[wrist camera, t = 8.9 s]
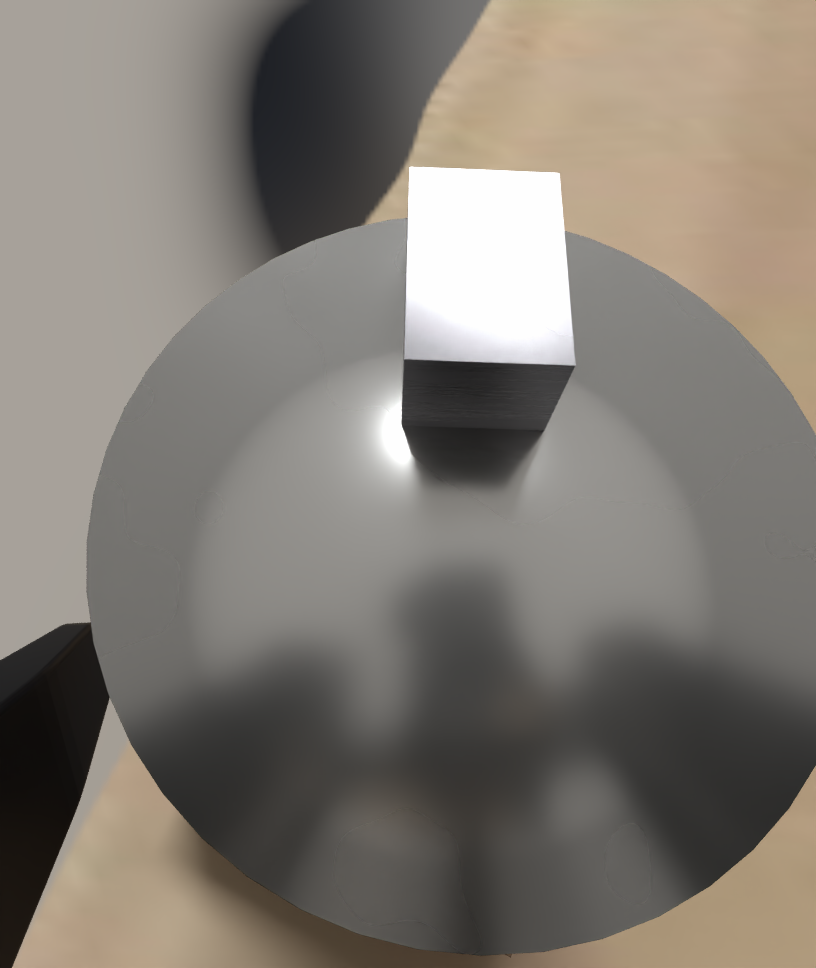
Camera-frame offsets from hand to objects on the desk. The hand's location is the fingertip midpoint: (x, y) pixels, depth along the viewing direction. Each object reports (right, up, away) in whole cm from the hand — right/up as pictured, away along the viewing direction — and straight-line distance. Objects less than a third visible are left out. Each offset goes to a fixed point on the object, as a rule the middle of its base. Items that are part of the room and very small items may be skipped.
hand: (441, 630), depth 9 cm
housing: (0, -3, +8) cm, 9 cm away
